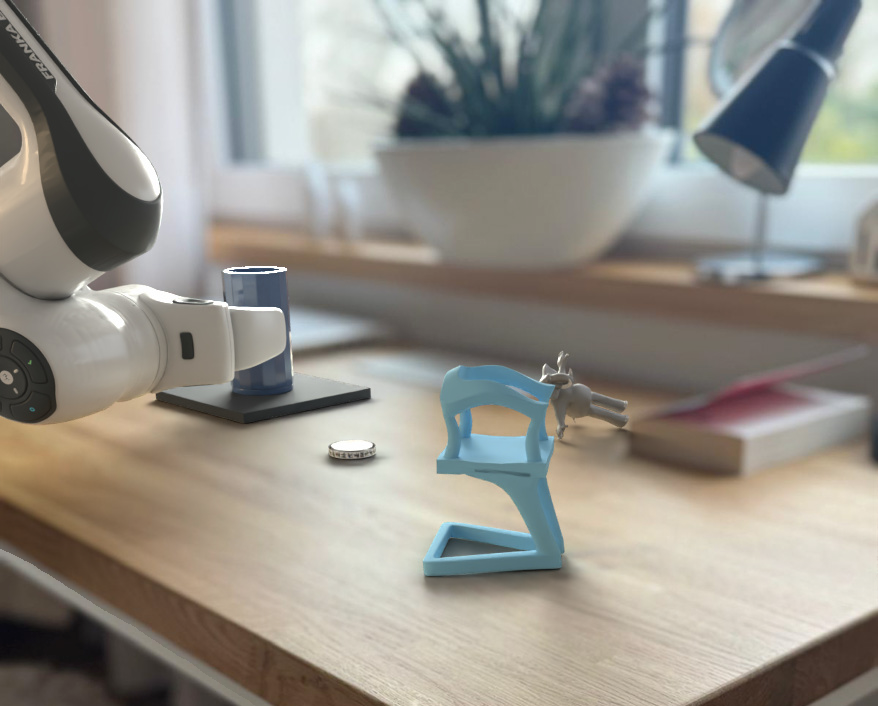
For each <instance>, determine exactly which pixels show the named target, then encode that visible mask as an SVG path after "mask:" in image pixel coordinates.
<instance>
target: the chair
mask: <svg viewBox="0 0 878 706" xmlns="http://www.w3.org/2000/svg"><path fill="white" fill-rule="evenodd" d="M539 381H540V380H536V379H534V378H532V377H529V376H527V375H526V374H523V373H522V372H519V371H517V370H515V369H513V368H509V367H506V366H505V365H497V364H488V365H486V364H485V365H478V366H477V365H476V366H465V365H458V366H456V367H454V368H451V369H449V370H448V371H447V372H446V374H445V375H444V378H443V381H442V385H441V388H440V392H439V402H440V407H441V412H442V416H443V419H444V423H445V426H446V431H447V442H446V446H445V447H444V449H443V450H442V451H441V452H440V453H439V455H438V456H437V458H436V460H435V461H436V474H437V475H455V476H456V475H466V476H468V477H471V478H474V479H478V480H482V481H485V482H489V483H491V484H494V485H495V486H498V487H499V488H500V489H502V490H503V491H504V492H505V493H506V494H507V495H508V496H509V497H510V499H511V501H512V502H513V504H514V505H515V507H516V508H517V511H518V512H519V514H520V516H521V518H522V520H523V521H524V524H525V526H526V528H527V530H528V532H529V533H528V532H522V531H515V530H510V529H504V528H498V527H497V528H496V527H491V526H484V525H478V524H472V523H465V522H458V521H457V522H456V521H446V522H443V523H442V524H441V525H440V527H439V529H438V530H437V532H436V534H435V536H434V538H433V540H432V542H431V544H430V545H429V548H428V550H427V552H426V554H425V555H424V557H423V560H422V568H423V569H422V570H423V575H424V576H426V577H437V576H453V575H470V574H480V573H481V574H482V573H495V572H496V573H497V572H512V571H524V570H529V571H530V570H554V569H555V570H556V569H561V568H562V567H563V561H562V555H563V554H564V553H565V552H566V551H565V541H564V537H563V533H562V530H561V527H560V523H559V519H558V516H557V513H556V509H555V506H554V503H553V499H552V495H551V492H550V487H549V483H548V479H547V475H548V472H549V468H550V463H551V459H552V457H553V454H554V451H555V436H554V435H548V433H547V429H546V428H547V427H546V418H547V417H546V416H547V412H548V407H549V405H550V400H551V399H550V397H551V395H552V393H553V390H554V388H555V385H551V384H545V383H542V382H539ZM512 387H514V388H516V389H519V390H522V391H523V392H525V393H527V394H530V395H531V396H533V397H534V398H536V399H537V400H536V399H533V398H531V397H528V396H526V395H525V394H522V393H521V392H519V391H517V390H516V389H514V388H512ZM491 405H493V406H498V407H499V406H501V407H505V408H507V409H510V410H513V411H516V412H518V413H519V414H522V415H524V416H525V417H527V418H529V419H530V422H529V424H528V427H527V430H526V434H525V435H520V436H519V435H517V436H512V435H511V436H509V435H490V434H481V433H472V430H473V414H472V410H471V409H474V408H477V407H482V406H491ZM457 415H459V424H458V421H457V419H456V416H457ZM450 539H461V540H466V541H472V542H478V543H483V544H488V545H493V546H499V547H504V548H509V549H515V550H519V551H508V552H495V553H483V554H470V555H459V556H447V557H446V556H445V557H441V556H442V554H443V553H444V551H445V548H446V546H447V544H448V542H449V540H450Z"/></svg>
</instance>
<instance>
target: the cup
mask: <svg viewBox="0 0 878 706" xmlns="http://www.w3.org/2000/svg"><path fill="white" fill-rule="evenodd" d="M288 281H289V279H288V269H287V268H285V267H277V266H245V267H243V266H242V267H231V268H227V269H226V268H225V269H223V270H221V284H222V297H223V302H224V303H226V304H227V305H228V307H254V308H278V309H280V310H281V311H282V312H283V314H284V318H285V325H286V347H285V349H284V351H283V352H282V353H280V354H279V355H277V356H275V357H273V358H271V359H269V360H267V361H265V362H263V363H261V364H259V365H256V366H254V367H251V368H248V369H244V370H239V371H234V379H233V380H232V381H231V386H232V391H233V392H234V393H237V394H241V395H253V396H261V395H274V394H281V393H285V392H289V391H291V390H293V388H294V383H293V382H294V375H293V372H294V362H293V345H292V328H291V314H290V297H289V296H290V295H289V282H288Z"/></svg>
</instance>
